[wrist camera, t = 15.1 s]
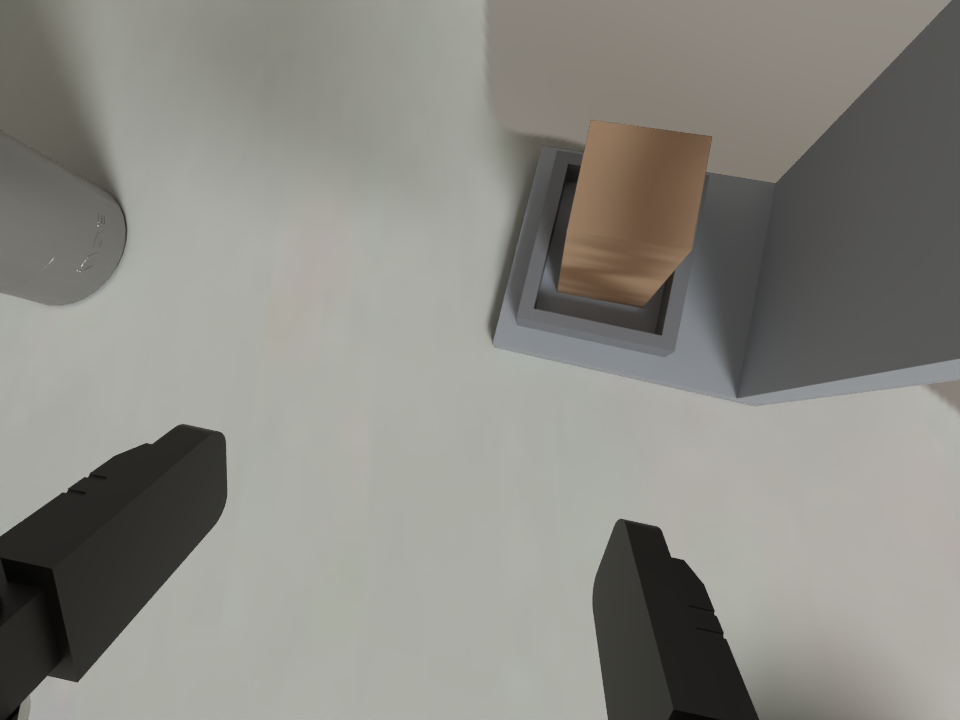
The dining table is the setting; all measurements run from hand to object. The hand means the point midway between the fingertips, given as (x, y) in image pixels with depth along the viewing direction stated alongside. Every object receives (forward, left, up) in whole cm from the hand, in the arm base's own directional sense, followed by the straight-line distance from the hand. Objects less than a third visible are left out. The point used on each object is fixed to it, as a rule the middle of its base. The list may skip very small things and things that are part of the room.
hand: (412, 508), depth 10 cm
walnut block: (+4, +13, -18) cm, 23 cm away
